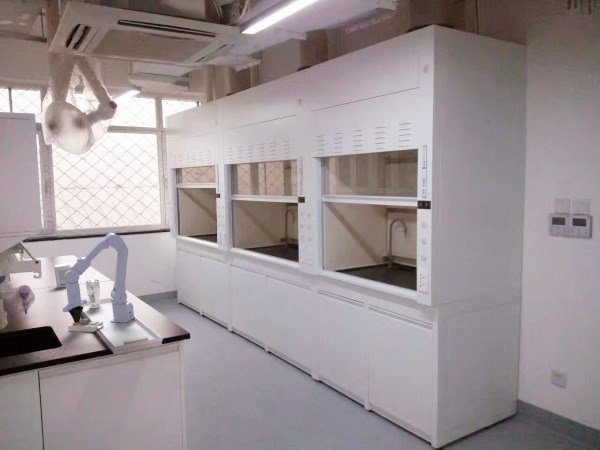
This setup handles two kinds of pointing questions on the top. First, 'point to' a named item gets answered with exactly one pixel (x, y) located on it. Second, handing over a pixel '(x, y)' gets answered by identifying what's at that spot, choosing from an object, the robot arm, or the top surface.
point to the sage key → (93, 323)
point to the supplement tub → (61, 274)
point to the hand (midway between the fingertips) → (77, 322)
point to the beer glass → (93, 293)
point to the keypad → (84, 327)
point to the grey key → (85, 321)
